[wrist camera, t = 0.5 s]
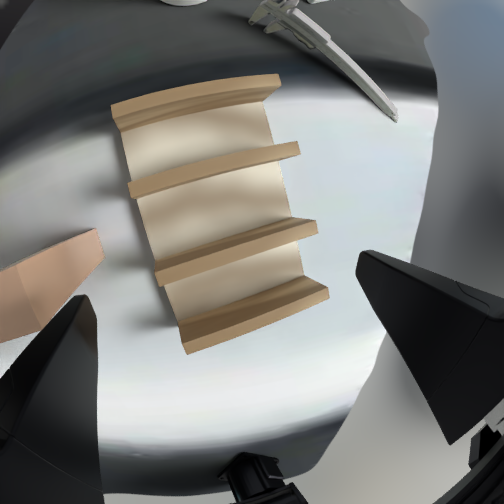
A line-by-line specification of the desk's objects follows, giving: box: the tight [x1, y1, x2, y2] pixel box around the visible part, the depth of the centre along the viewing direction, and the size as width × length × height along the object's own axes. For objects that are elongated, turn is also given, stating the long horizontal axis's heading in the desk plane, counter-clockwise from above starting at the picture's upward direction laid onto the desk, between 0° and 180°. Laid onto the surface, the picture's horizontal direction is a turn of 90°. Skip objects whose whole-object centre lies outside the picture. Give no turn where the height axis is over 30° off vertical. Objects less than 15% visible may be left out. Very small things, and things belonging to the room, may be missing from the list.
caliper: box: [249, 0, 398, 123], centre depth 21 cm, size 20×1×6 cm, turn 67°
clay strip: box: [0, 228, 105, 343], centre depth 13 cm, size 2×6×14 cm, turn 105°
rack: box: [111, 74, 330, 355], centre depth 21 cm, size 18×12×5 cm, turn 15°
